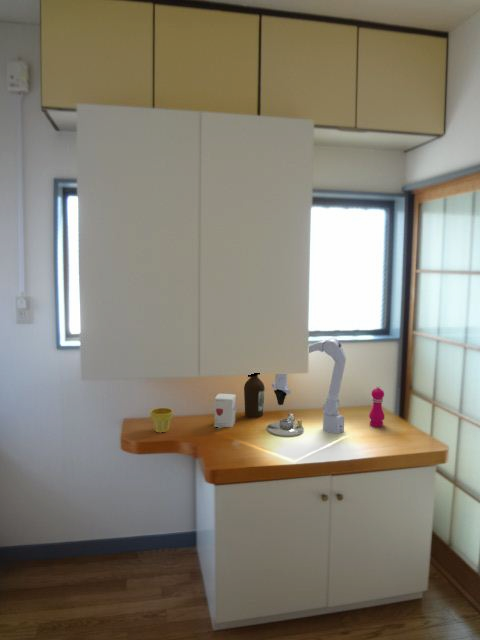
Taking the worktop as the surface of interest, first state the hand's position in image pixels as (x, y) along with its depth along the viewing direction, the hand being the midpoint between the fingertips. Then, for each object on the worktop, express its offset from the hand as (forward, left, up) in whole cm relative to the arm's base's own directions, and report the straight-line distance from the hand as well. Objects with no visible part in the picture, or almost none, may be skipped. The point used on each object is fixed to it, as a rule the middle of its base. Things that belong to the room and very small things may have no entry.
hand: (280, 404), depth 227 cm
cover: (-8, +6, -8) cm, 13 cm away
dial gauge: (-2, -4, -10) cm, 11 cm away
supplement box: (+18, +20, -11) cm, 29 cm away
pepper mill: (-34, -34, -11) cm, 49 cm away
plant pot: (+34, +46, -11) cm, 58 cm away
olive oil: (+17, 0, -11) cm, 20 cm away
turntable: (-8, +6, -9) cm, 14 cm away
